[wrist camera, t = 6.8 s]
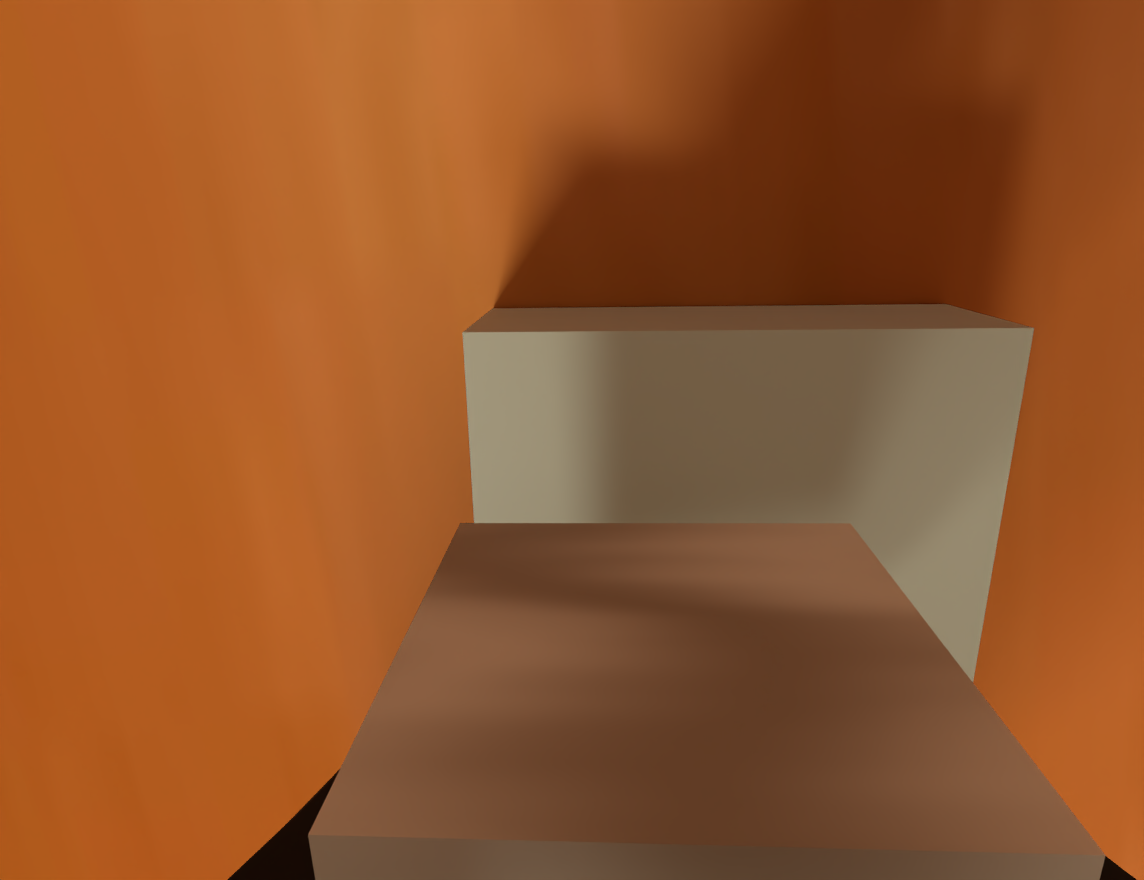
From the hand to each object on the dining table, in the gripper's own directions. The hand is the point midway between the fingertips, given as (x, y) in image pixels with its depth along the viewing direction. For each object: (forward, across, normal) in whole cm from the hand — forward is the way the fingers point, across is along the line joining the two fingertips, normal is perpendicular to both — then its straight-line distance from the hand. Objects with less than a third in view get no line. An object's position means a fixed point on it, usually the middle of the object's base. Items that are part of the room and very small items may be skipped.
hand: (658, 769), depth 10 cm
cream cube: (+2, 0, 0) cm, 2 cm away
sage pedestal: (+9, -2, 0) cm, 9 cm away
